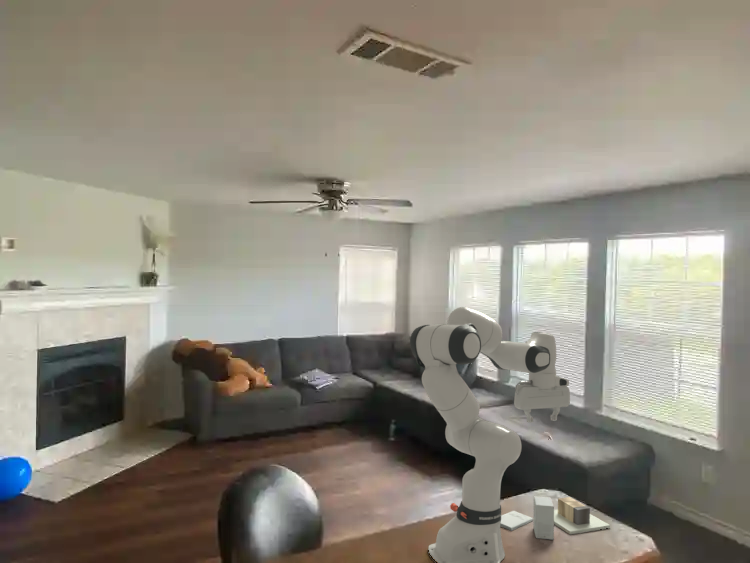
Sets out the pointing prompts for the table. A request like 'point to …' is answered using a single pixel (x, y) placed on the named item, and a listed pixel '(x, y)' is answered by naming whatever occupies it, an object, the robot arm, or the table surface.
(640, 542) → the table surface
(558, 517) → the sage board
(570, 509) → the maple block
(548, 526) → the small box
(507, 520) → the external hard drive
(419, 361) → the robot arm
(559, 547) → the table surface
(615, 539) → the table surface
